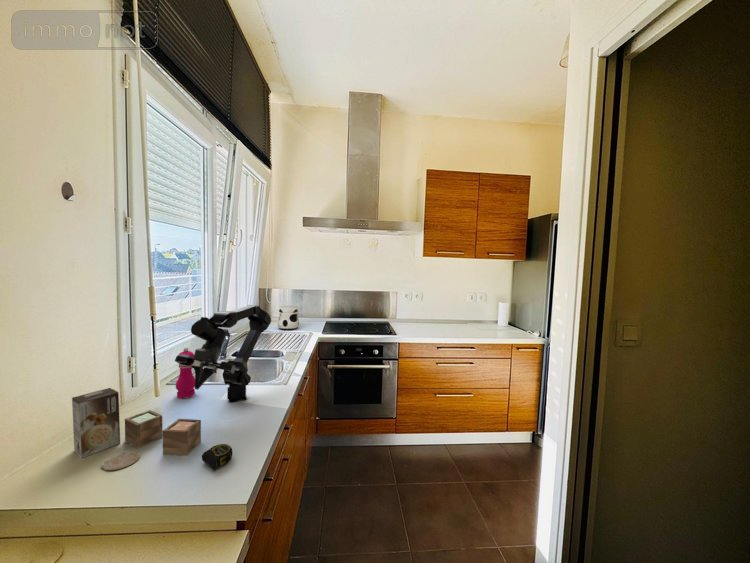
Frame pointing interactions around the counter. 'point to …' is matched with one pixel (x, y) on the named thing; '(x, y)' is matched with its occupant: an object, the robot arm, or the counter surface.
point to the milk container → (288, 317)
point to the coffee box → (96, 421)
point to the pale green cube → (143, 418)
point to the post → (143, 429)
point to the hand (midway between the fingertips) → (196, 389)
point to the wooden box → (181, 438)
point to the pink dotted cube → (182, 425)
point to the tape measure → (217, 456)
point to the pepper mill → (185, 378)
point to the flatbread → (121, 461)
